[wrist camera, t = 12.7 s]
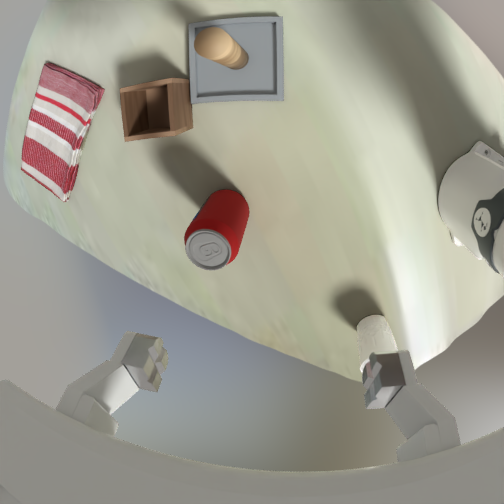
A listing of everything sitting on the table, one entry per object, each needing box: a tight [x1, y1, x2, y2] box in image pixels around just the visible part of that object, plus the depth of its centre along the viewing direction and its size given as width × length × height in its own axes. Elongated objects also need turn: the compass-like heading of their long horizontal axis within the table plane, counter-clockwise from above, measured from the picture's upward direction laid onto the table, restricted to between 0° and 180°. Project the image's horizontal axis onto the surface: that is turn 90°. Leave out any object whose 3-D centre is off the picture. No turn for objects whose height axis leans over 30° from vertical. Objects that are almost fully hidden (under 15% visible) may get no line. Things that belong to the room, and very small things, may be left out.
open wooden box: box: [120, 78, 193, 142], centre depth 30 cm, size 7×7×7 cm
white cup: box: [357, 315, 398, 373], centre depth 47 cm, size 8×8×10 cm
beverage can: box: [184, 190, 249, 270], centre depth 36 cm, size 7×7×12 cm
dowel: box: [194, 27, 249, 70], centre depth 23 cm, size 3×3×12 cm
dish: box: [189, 17, 284, 104], centre depth 28 cm, size 12×12×1 cm
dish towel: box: [21, 63, 104, 202], centre depth 35 cm, size 17×23×3 cm
